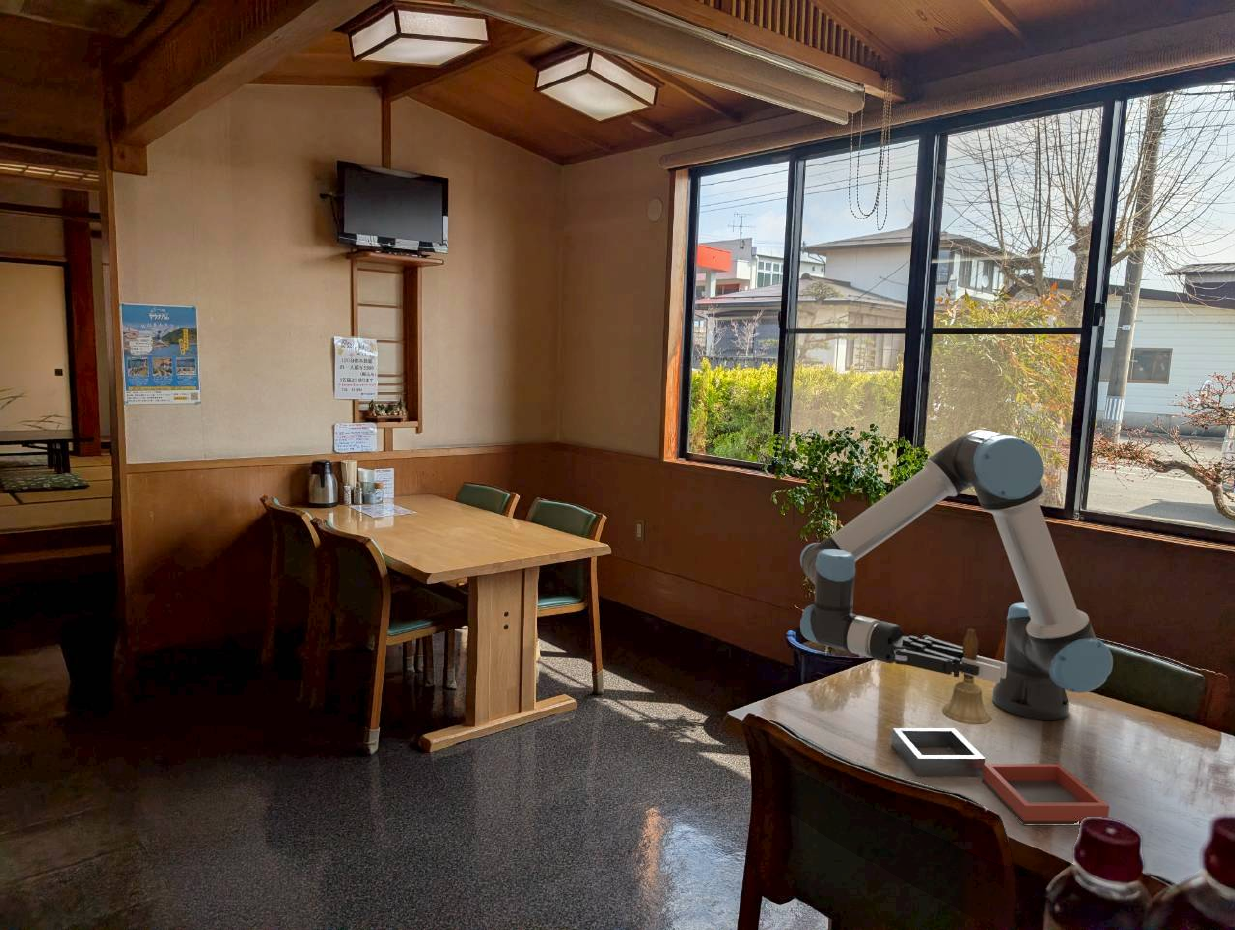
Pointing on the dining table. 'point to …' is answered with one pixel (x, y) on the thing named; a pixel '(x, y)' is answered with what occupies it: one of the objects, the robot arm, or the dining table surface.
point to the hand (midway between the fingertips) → (1002, 672)
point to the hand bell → (967, 691)
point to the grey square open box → (957, 765)
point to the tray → (1043, 793)
